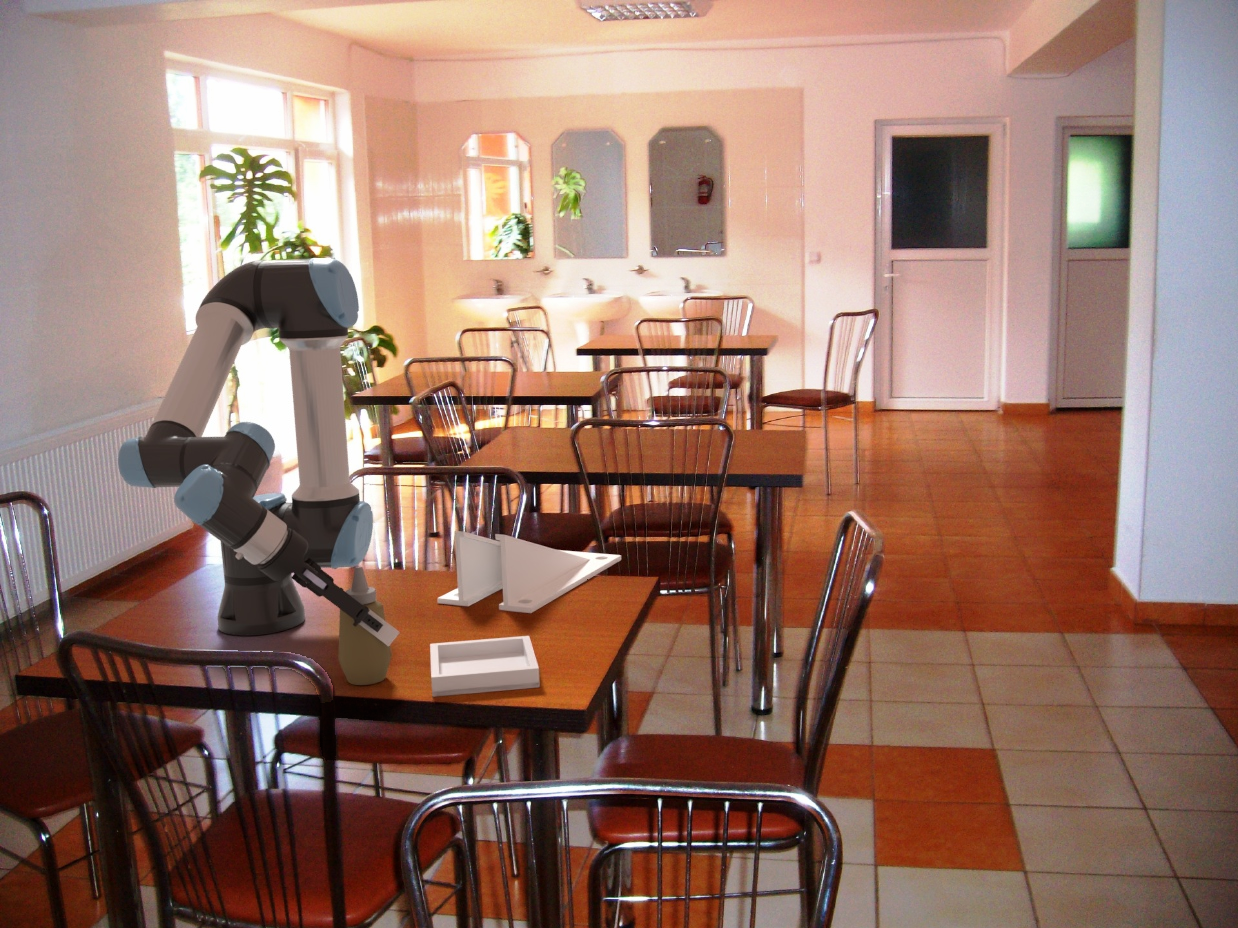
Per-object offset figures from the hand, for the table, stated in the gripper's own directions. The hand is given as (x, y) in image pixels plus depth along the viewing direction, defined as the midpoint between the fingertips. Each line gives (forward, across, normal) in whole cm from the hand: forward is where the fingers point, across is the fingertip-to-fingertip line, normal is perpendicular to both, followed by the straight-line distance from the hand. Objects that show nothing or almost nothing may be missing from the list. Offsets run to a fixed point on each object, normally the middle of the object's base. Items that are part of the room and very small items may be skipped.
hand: (385, 632), depth 187 cm
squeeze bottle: (+3, 0, -8) cm, 8 cm away
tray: (+14, +8, +4) cm, 17 cm away
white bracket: (+19, -25, +19) cm, 36 cm away
